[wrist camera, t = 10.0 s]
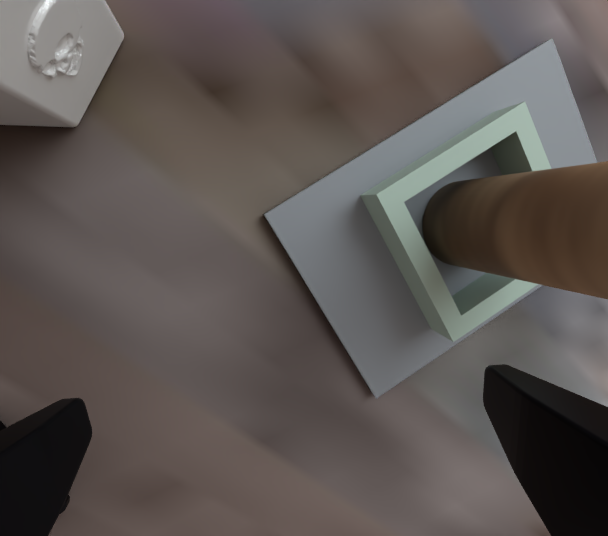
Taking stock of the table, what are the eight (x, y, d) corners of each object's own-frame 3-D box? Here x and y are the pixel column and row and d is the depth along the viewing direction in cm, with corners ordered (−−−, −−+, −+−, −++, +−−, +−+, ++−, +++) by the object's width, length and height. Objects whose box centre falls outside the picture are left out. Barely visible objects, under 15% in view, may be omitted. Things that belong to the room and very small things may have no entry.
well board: (373, 394, 23) (392, 419, 20) (263, 214, 20) (269, 215, 17) (614, 230, 24) (661, 233, 22) (545, 41, 22) (589, 19, 19)
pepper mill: (471, 280, 22) (908, 394, 8) (407, 239, 21) (790, 292, 7) (511, 208, 22) (1021, 200, 8) (450, 164, 21) (920, 66, 7)
